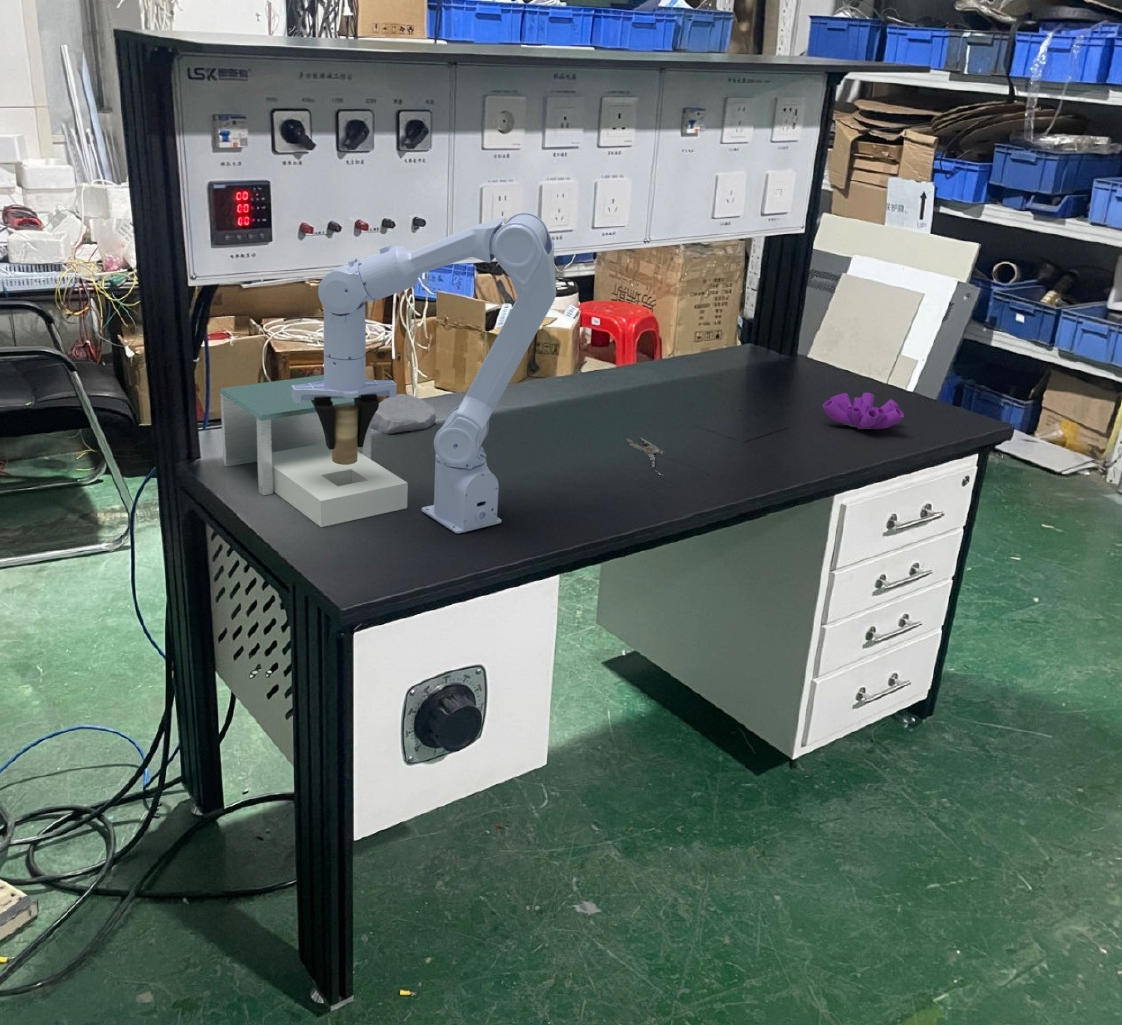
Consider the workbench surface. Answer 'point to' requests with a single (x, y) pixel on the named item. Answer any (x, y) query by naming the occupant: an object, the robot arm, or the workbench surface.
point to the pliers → (646, 449)
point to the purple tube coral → (862, 411)
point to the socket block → (335, 485)
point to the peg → (345, 434)
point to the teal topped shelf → (271, 424)
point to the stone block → (402, 415)
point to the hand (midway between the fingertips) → (344, 446)
